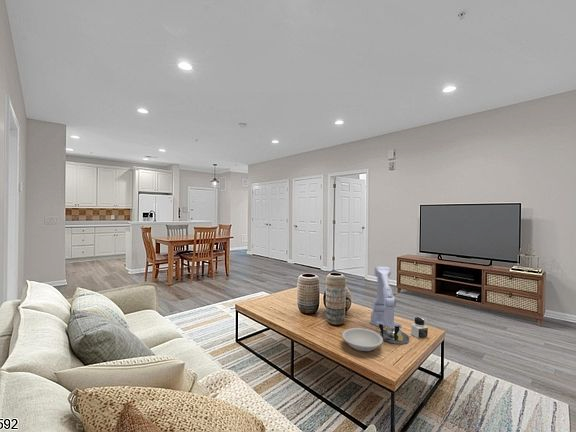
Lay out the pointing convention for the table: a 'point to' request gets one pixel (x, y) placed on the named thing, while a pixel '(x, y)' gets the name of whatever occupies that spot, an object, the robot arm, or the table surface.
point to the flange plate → (393, 340)
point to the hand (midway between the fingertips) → (388, 337)
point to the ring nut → (391, 333)
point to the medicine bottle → (419, 328)
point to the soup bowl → (362, 339)
